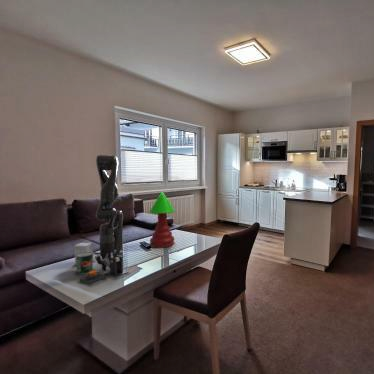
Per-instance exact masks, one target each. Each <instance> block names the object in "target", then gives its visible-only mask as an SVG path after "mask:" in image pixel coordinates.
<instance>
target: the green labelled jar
mask: <svg viewBox="0 0 374 374" xmlns="http://www.w3.org/2000/svg"><path fill="white" fill-rule="evenodd" d="M93 251H94V242H80V243H77V244H74V266H77V263H76V255H77V254H80V253H84V252H92V263H94V261H95V260H94V259H95V257H94V253H93Z"/></svg>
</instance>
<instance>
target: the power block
mask: <svg viewBox="0 0 374 374" xmlns="http://www.w3.org/2000/svg"><path fill="white" fill-rule="evenodd" d="M96 271H97V270H96ZM106 279H107V275H105V274H101V272H100V271H97V274H96V275H92V276H89V272H87V273H85V275H84V276H82V277H79V281H80V282H83V283H86V284H88V285H93V284H97V283H98V282H99V283H100V282H101V281H103V280H106Z"/></svg>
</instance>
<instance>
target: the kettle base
mask: <svg viewBox="0 0 374 374" xmlns="http://www.w3.org/2000/svg"><path fill="white" fill-rule="evenodd" d="M116 257H119V259H120V261H118V262H116V258H113V257H110V268H109V271H108V272H105V273H104V276H109V277H112V278H114V279H116V278H118V277H121V276H123V275H126V274H128V273H129V271H127V270H124V259H123V258H124V255H123V256H120V255H116Z"/></svg>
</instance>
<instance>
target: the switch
mask: <svg viewBox="0 0 374 374" xmlns="http://www.w3.org/2000/svg"><path fill="white" fill-rule="evenodd" d="M118 261H120V259H119V257H116V262H118ZM109 265H110V262H109V260H107V261H106V268H107V267H108V268H109Z"/></svg>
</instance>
